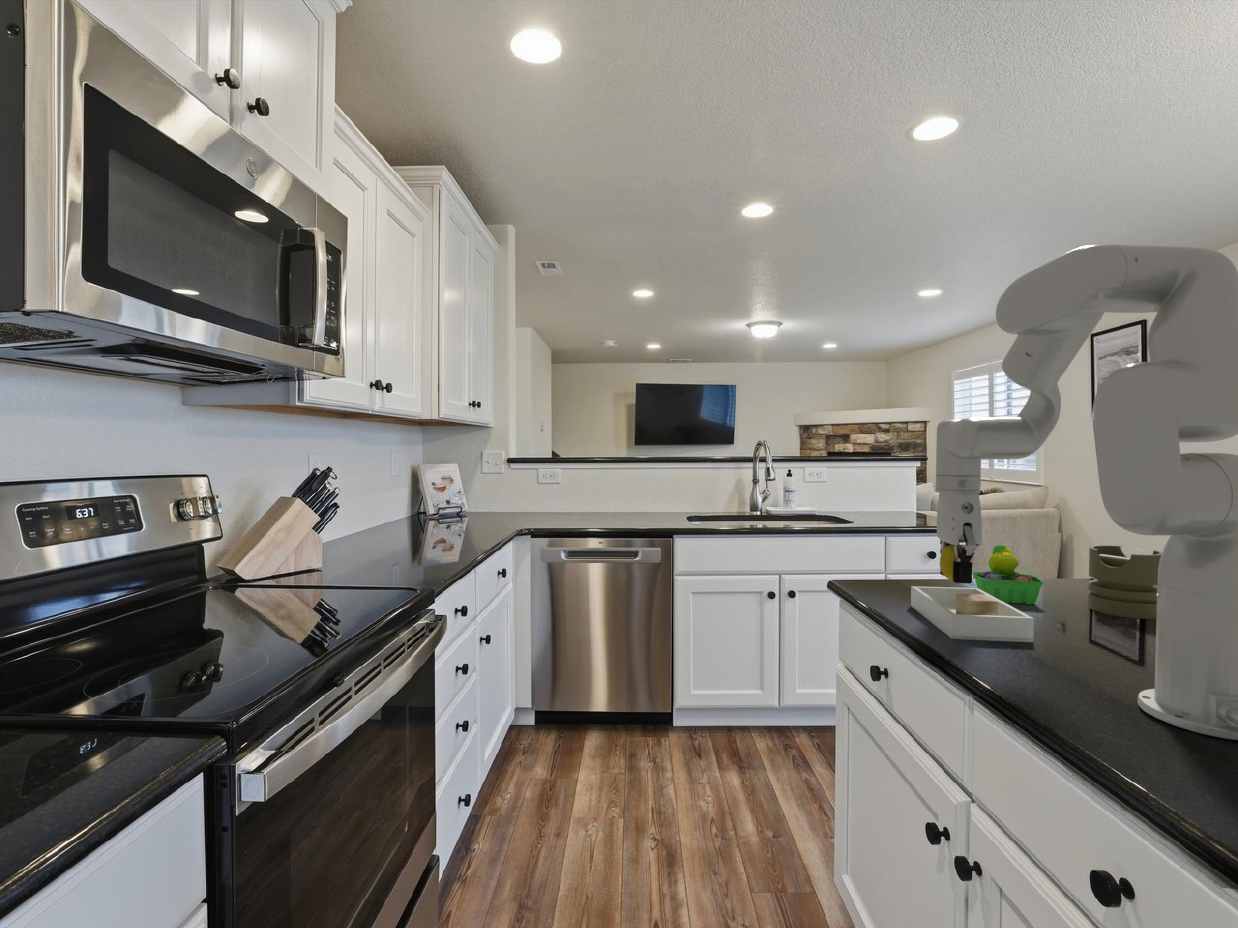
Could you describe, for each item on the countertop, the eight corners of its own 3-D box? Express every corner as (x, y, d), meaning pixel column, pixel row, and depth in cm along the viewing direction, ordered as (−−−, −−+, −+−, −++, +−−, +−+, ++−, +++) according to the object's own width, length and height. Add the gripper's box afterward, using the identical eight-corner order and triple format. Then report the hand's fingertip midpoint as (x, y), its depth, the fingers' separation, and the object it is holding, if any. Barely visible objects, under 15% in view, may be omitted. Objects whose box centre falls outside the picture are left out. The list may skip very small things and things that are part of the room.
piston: (1147, 557, 115) (1078, 548, 125) (1145, 621, 115) (1076, 607, 125) (1174, 551, 121) (1106, 543, 130) (1172, 613, 121) (1104, 600, 131)
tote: (1033, 642, 103) (1033, 618, 103) (952, 638, 105) (952, 615, 105) (977, 608, 125) (978, 588, 125) (910, 605, 127) (911, 586, 126)
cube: (966, 628, 109) (966, 600, 109) (955, 620, 114) (956, 593, 114) (997, 630, 108) (998, 601, 108) (985, 622, 113) (985, 594, 113)
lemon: (939, 585, 119) (940, 543, 118) (939, 579, 124) (940, 539, 123) (972, 588, 116) (973, 545, 116) (971, 582, 121) (972, 541, 121)
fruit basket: (980, 603, 129) (981, 548, 129) (970, 593, 138) (970, 542, 137) (1044, 607, 126) (1045, 551, 125) (1029, 596, 134) (1030, 544, 134)
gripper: (999, 488, 110) (997, 590, 111) (960, 481, 127) (958, 570, 128) (954, 488, 111) (951, 589, 112) (921, 481, 128) (919, 569, 129)
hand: (955, 578), depth 120 cm, fingers closed on lemon, 5 cm apart
